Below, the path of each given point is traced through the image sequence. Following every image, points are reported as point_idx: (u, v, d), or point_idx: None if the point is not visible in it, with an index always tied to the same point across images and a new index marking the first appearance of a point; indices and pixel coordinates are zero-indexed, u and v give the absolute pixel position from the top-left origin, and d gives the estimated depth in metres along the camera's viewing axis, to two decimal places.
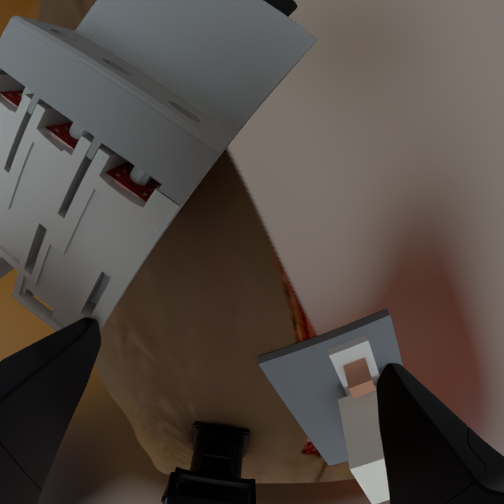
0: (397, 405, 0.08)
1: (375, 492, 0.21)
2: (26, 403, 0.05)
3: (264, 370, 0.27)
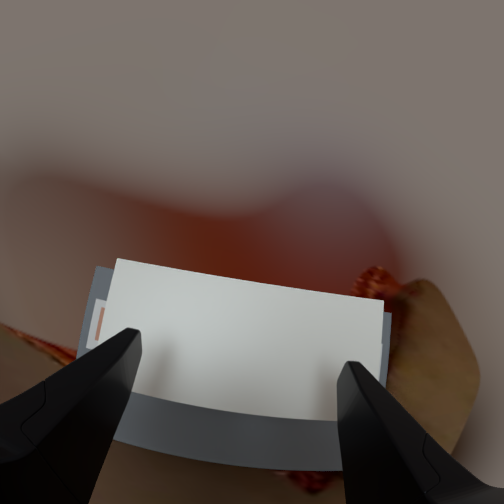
0: (353, 405, 0.08)
1: (282, 396, 0.11)
2: (77, 424, 0.05)
3: None
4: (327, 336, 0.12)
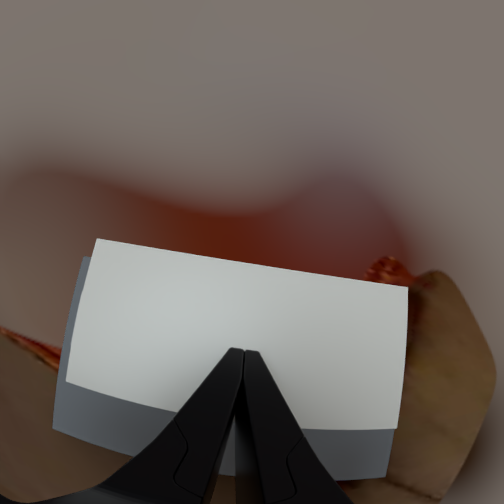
0: (240, 396, 0.08)
1: (293, 402, 0.09)
2: (218, 460, 0.05)
3: (64, 431, 0.16)
4: (344, 329, 0.10)
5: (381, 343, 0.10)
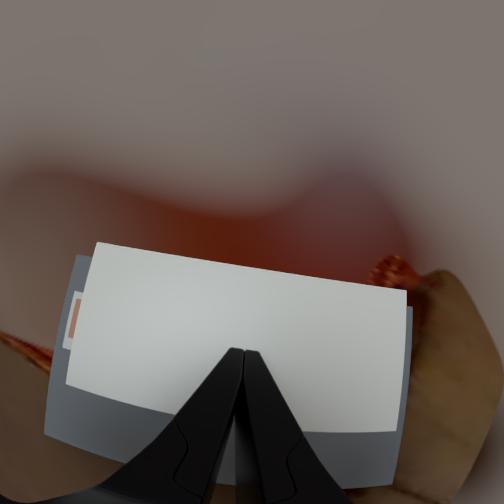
0: (240, 396, 0.08)
1: (292, 405, 0.09)
2: (218, 460, 0.05)
3: (56, 437, 0.14)
4: (343, 332, 0.10)
5: (380, 346, 0.10)
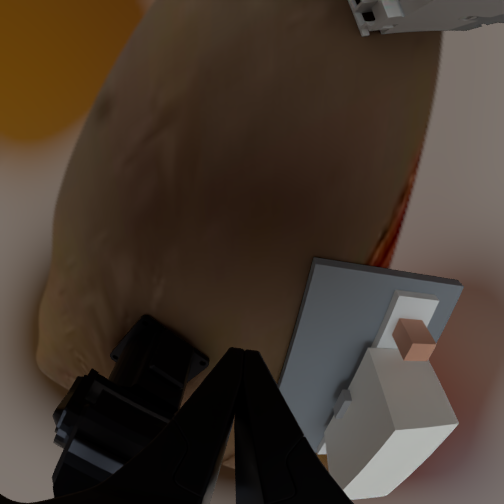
0: (240, 396, 0.08)
1: (359, 482, 0.18)
2: (218, 460, 0.05)
3: (314, 277, 0.20)
4: (380, 487, 0.18)
5: (369, 494, 0.19)
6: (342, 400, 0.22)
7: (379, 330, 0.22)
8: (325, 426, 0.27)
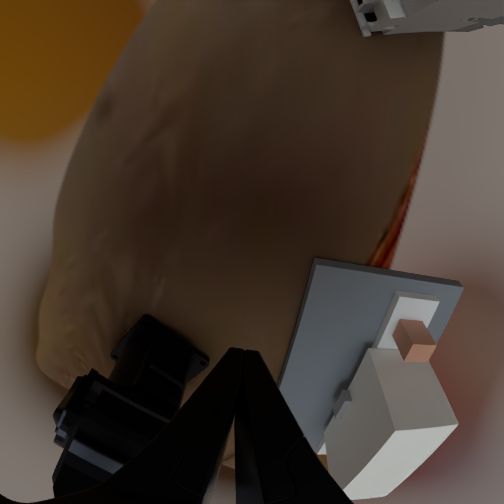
0: (240, 396, 0.08)
1: (359, 482, 0.18)
2: (218, 460, 0.05)
3: (314, 278, 0.20)
4: (380, 487, 0.18)
5: (369, 494, 0.19)
6: (342, 400, 0.22)
7: (379, 331, 0.22)
8: (325, 426, 0.27)
